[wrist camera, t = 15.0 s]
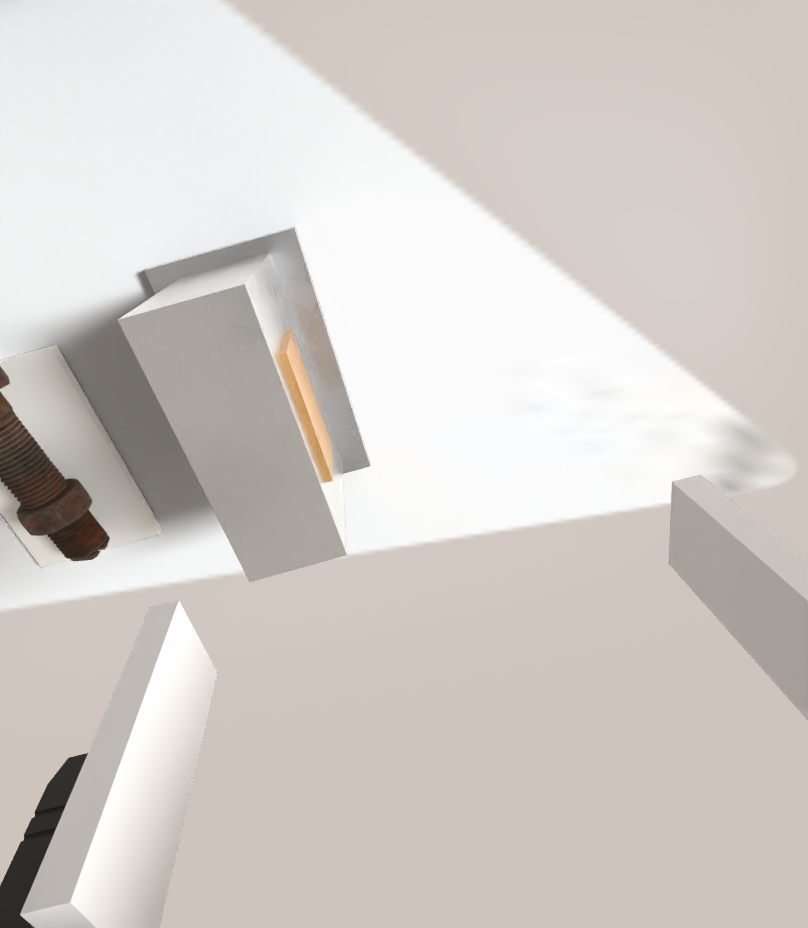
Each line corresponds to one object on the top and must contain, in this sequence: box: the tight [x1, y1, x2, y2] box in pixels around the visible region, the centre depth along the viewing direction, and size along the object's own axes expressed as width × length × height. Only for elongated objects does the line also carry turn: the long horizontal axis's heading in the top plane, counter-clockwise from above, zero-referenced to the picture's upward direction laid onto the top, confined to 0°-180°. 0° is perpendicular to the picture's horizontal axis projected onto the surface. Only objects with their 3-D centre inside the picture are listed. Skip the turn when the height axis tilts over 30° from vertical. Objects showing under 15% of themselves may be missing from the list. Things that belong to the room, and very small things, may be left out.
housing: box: [117, 227, 370, 582], centre depth 34 cm, size 18×10×13 cm, turn 14°
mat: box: [0, 345, 162, 568], centre depth 41 cm, size 16×10×1 cm, turn 14°
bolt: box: [0, 366, 110, 561], centre depth 38 cm, size 6×5×15 cm
